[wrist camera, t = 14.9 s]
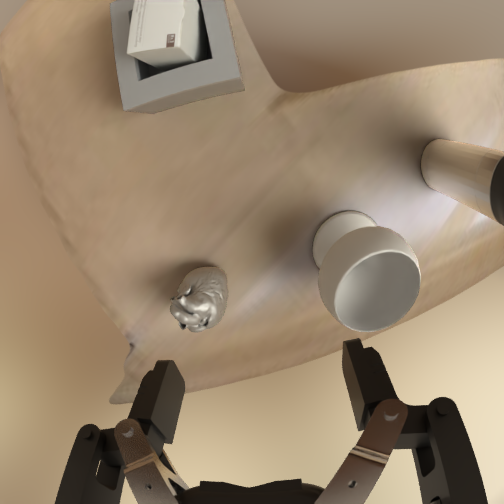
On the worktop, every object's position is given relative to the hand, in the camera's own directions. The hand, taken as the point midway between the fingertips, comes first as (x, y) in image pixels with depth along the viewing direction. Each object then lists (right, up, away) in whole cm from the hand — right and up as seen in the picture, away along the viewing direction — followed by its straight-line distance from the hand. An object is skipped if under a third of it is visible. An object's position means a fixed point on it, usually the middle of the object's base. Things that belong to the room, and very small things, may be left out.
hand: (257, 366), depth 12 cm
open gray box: (-10, +35, +20) cm, 41 cm away
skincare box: (-9, +34, +19) cm, 40 cm away
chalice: (+15, +6, +32) cm, 36 cm away
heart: (-8, 0, +36) cm, 37 cm away
